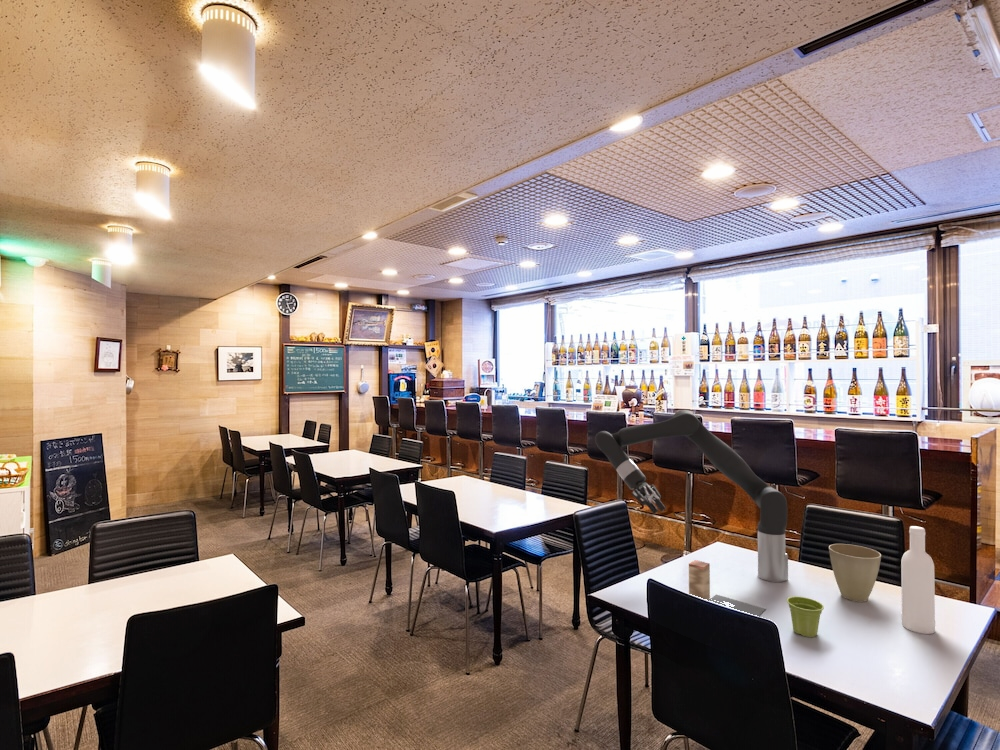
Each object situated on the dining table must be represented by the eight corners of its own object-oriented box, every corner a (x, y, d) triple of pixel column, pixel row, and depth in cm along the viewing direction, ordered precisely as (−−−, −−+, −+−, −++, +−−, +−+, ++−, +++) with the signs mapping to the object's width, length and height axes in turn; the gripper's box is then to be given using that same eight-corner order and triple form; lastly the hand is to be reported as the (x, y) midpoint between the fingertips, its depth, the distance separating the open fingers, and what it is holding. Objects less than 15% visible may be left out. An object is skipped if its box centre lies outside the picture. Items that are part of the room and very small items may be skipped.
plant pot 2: (863, 610, 169) (863, 560, 170) (819, 593, 183) (818, 547, 183) (892, 601, 176) (891, 554, 176) (846, 585, 189) (846, 541, 189)
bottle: (926, 636, 152) (925, 532, 152) (896, 625, 159) (895, 526, 159) (940, 630, 156) (939, 528, 156) (910, 619, 163) (909, 522, 163)
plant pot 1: (814, 625, 159) (813, 596, 159) (830, 641, 150) (830, 610, 150) (781, 624, 160) (781, 595, 160) (795, 639, 151) (795, 609, 151)
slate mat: (699, 607, 172) (699, 606, 172) (716, 595, 182) (716, 594, 182) (751, 623, 161) (751, 622, 161) (765, 609, 170) (765, 608, 170)
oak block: (689, 598, 179) (688, 563, 179) (695, 594, 183) (695, 559, 183) (703, 603, 176) (703, 567, 176) (709, 598, 179) (709, 563, 179)
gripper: (627, 470, 195) (657, 508, 187) (646, 465, 205) (676, 501, 197) (614, 483, 199) (643, 520, 190) (634, 477, 209) (663, 513, 201)
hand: (660, 510), depth 194 cm, fingers open, 5 cm apart
